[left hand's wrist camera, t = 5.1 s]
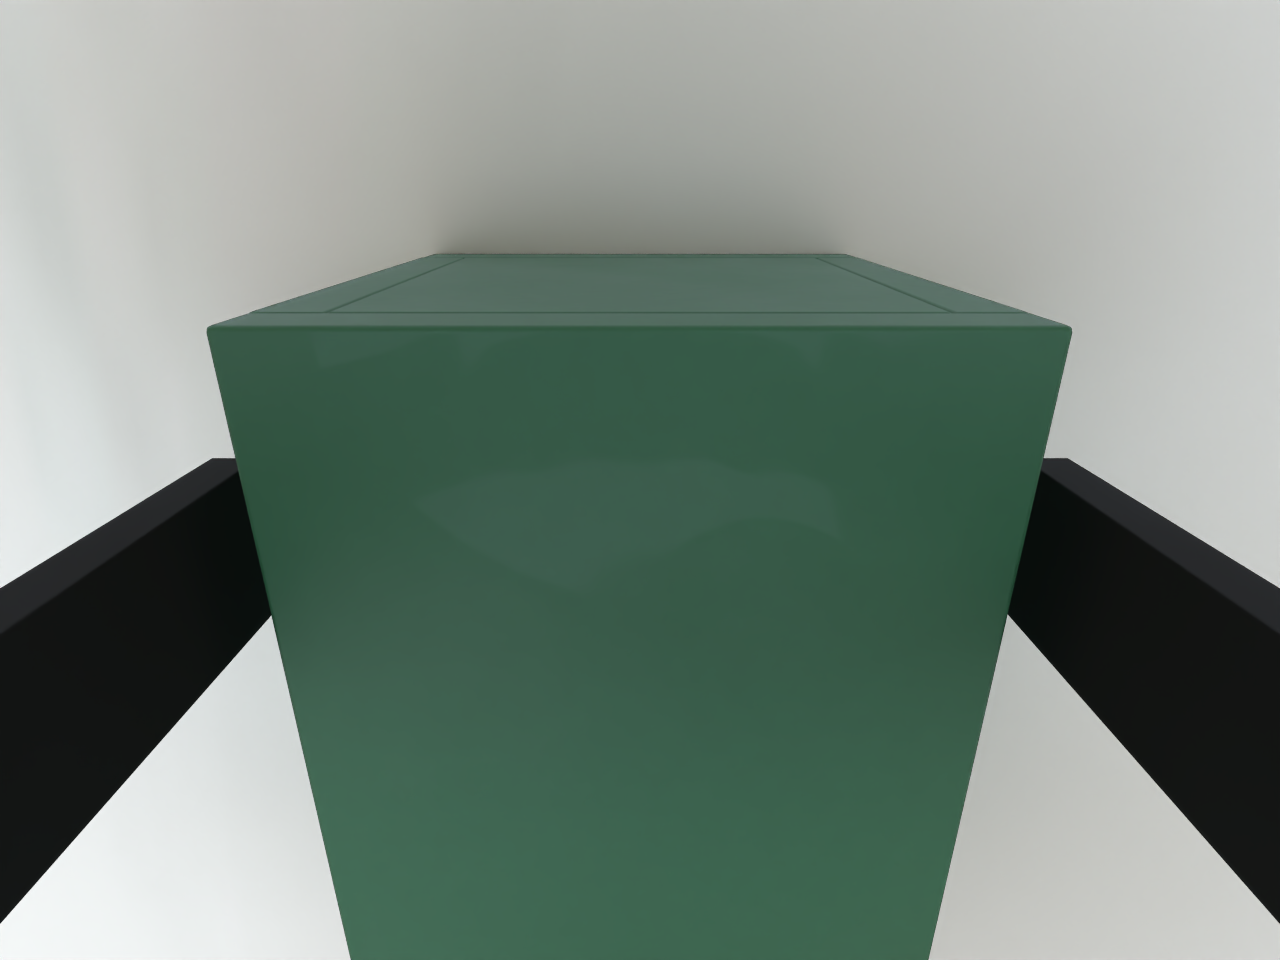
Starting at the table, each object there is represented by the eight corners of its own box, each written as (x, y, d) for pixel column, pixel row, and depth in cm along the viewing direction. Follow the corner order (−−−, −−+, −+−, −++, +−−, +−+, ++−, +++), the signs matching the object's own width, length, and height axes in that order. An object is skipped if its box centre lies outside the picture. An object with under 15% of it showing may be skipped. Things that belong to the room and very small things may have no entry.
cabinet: (787, 828, 25) (872, 1207, 16) (493, 828, 25) (405, 1206, 16) (847, 253, 18) (1076, 326, 8) (432, 253, 18) (202, 326, 8)
